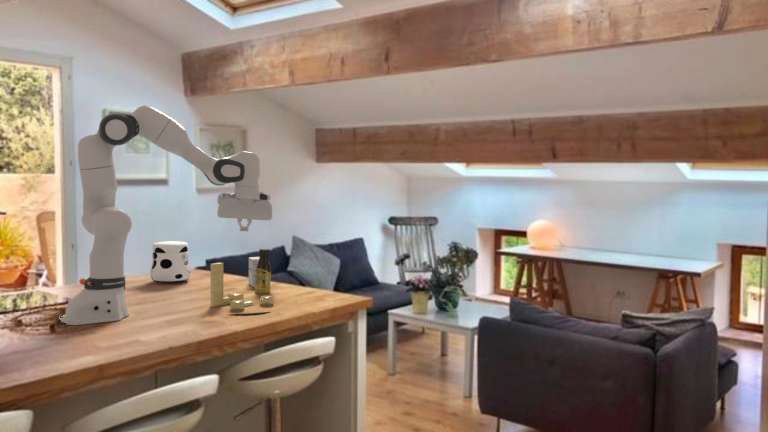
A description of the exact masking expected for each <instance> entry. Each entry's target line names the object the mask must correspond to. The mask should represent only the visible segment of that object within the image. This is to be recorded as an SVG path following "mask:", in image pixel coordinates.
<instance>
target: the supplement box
mask: <svg viewBox="0 0 768 432" xmlns="http://www.w3.org/2000/svg"><path fill="white" fill-rule="evenodd" d="M259 258H260V256H250V257H248V285H249V286H251V287H252V288H255V279H256V267H257V264H258V261H259Z"/></svg>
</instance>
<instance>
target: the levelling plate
mask: <svg viewBox="0 0 768 432" xmlns="http://www.w3.org/2000/svg"><path fill="white" fill-rule="evenodd" d="M229 306H230V309H229V310H230V311H231V312H241V311H244V310H245V307H248V306H249V307H250V306H254V301H251V300H250V301H245V300H244V301H242V300H234V301H231V302H230V304H229ZM259 306H261V307H270V306H274V296H272V295H261V296H260V297H259ZM270 313H271V311H267V312H265V311H263V312H249V313H248V312H247V313H246V312H245V313H233V314H228V316H232V317H233V316H235V317H246V316H247V317H248V316H249V317H251V316H253V317H254V316H260V315H261V316H262V315H266V314H270Z"/></svg>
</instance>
